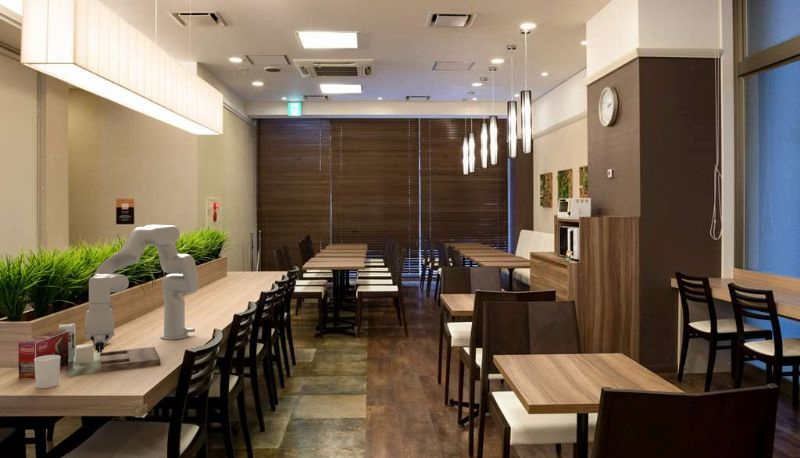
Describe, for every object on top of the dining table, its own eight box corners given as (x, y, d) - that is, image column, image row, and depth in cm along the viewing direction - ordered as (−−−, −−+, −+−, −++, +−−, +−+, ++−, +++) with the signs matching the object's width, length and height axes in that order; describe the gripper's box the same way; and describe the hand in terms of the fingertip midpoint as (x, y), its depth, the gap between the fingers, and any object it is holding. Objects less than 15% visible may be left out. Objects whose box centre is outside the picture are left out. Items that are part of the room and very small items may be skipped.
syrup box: (58, 361, 223) (58, 326, 223) (59, 357, 229) (59, 323, 228) (74, 359, 226) (74, 325, 226) (75, 356, 231) (75, 322, 231)
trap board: (154, 352, 239) (154, 340, 239) (160, 365, 219) (160, 351, 219) (69, 361, 223) (69, 348, 223) (68, 376, 203) (68, 361, 203)
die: (96, 348, 247) (110, 331, 250) (82, 338, 248) (96, 321, 251) (105, 351, 255) (119, 333, 257) (91, 341, 256) (105, 324, 259)
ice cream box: (36, 378, 200) (35, 343, 200) (18, 378, 200) (18, 342, 200) (68, 363, 220) (68, 331, 220) (52, 363, 220) (52, 331, 220)
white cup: (42, 382, 196) (42, 355, 195) (65, 382, 196) (64, 354, 196) (29, 389, 188) (29, 360, 187) (53, 389, 188) (52, 360, 188)
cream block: (93, 358, 219) (93, 343, 219) (93, 361, 214) (93, 346, 214) (76, 360, 216) (75, 345, 216) (76, 363, 211) (75, 348, 211)
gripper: (119, 304, 225) (119, 347, 225) (78, 306, 217) (78, 352, 218) (121, 306, 218) (121, 351, 219) (78, 309, 211) (78, 356, 211)
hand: (99, 351), depth 218 cm, fingers closed
